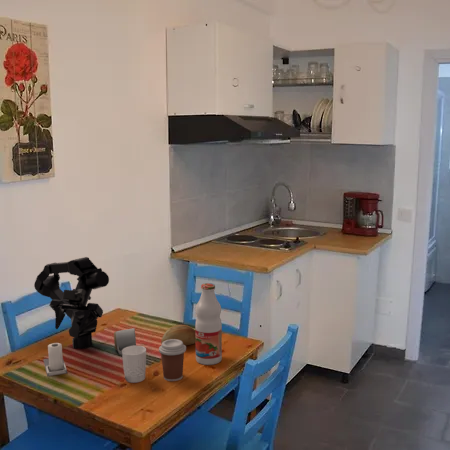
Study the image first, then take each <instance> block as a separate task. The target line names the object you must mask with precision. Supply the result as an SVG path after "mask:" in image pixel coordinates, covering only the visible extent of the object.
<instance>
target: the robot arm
mask: <svg viewBox="0 0 450 450" xmlns="http://www.w3.org/2000/svg"><path fill="white" fill-rule="evenodd" d="M64 273H65V274H66V273H69V274H70V275H73V276H77V278H76V280H77V284H76V286H75V288H72V290H71V289H63V290H62V289H61V288H60V286H61V285H60V280H61V277H60V274H64ZM52 274H53V275H52ZM109 282H110V277H109V275H108V274H107V272H106V271H104V270H103V269H102V268H101V267H100V268H98V267H97V266H96V265H95V263H94V262H92V260H91V259H90V258H89V257H87V256H84V257H81V258H75V259H72V260H69V261H67V262H52V263H46V265H44V267H43V269H42V271H41V272H39V274H38V275H37V277H36V278H35V280H34V286H33V287H34V289H35V291H36V292H37V293H39V295H41V296H43V297H47V298H50V299H51V300H50V302H49V307H50V308H51V309H52V310H53V312H54V314H55V315H54V316H55V326H54V328H55V330H58V329H59V328H60V327H61V324H62V323H63V320H64V318H65V317H66V316H67V317H68V318H69V319H70V321H71V322H70V323H71V324H70V325H71V326H70V328H69V329H68V333H69V337H71V339H72V349H73V350H74V349H75V350H76V349H78V350H84V349H85V350H86V349H88V348H89V349H90V347H93V333H96V332H97V326H98V318H102V316H103V314H104V310H103V308H102V307H101V306H100V305H99V304H98V303H96V302H95V303H94V302H89V301H90V300H91V299H92V297H91V293H92V291H93V290H98V289H101V288H104V287H106V286H108V285H109Z"/></svg>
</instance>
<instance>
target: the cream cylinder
mask: <svg viewBox="0 0 450 450" xmlns="http://www.w3.org/2000/svg"><path fill="white" fill-rule="evenodd" d="M47 352H48V359H49V370H50V372H54V371H60V370H63V360H64V358H63V359H62V357H63V346H62V343H59V342H53V343H50V344H48V345H47Z"/></svg>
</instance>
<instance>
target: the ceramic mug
mask: <svg viewBox="0 0 450 450" xmlns="http://www.w3.org/2000/svg"><path fill="white" fill-rule="evenodd" d="M135 329H136V328H135V327H133V328H129V329H128V328H126V329H122V330H116V331H114V332H113V340H114V341H113V343H114V349H115V351H117V353H118V354H119V355H120V356H122V350H123V349H124V348H126V347H129V346H137V337H136V330H135Z"/></svg>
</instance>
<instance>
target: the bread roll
mask: <svg viewBox="0 0 450 450" xmlns="http://www.w3.org/2000/svg"><path fill="white" fill-rule="evenodd" d="M170 339H177V340H181V341H182V342H183V344H184V345H185V346H186V347H187V346H190V345H193V344H196V336H195V329H194V327H191V326H189V325H187V324H178V325H173V326H170V327H169V328H167V330H166V331H165V332H164V333H163V335H162V338H161V345H162V342H164V341H166V340H170Z"/></svg>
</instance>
